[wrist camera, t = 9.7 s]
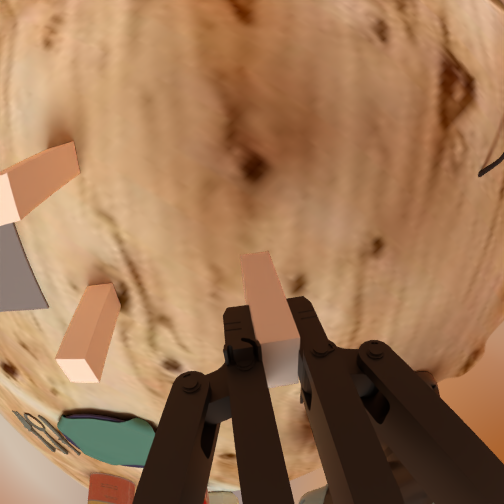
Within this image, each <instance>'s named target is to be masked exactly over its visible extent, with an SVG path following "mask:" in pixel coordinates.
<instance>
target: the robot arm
mask: <svg viewBox="0 0 504 504" xmlns="http://www.w3.org/2000/svg"><path fill="white" fill-rule="evenodd" d="M240 259H241V268H242V277H243V286H244V295H245V301H246V305H244V306H237V307H229V308H227V309H226V311H225V313H224V315H223V322H224V334H225V345H224V349H223V352H224V357H225V363H224V364H223V366H222V367H221V368H219V369H218V370H216V371H214V372H212V373H210V374H207V375H204V374H203V373H201V372H197V371H188V372H185V373H183V374H181V375H180V376H178V377H177V378H176V379H175V381H174V383H173V385H172V388H171V391H170V394H169V396H168V399H167V402H166V405H165V408H164V410H163V413H162V416H161V419H160V422H159V425H158V428H157V430H156V433H155V436H154V439H153V442H152V445H151V448H150V451H149V454H148V457H147V460H146V463H145V466H144V468H143V471H142V474H141V478H140V481H139V484H138V487H137V490H136V493H135V496H134V499H133V502H132V504H203V503H204V498H205V494H206V489H207V484H208V480H209V475H210V470H211V466H212V461H213V456H214V452H215V447H216V442H217V437H218V433H219V428H220V423H221V422H222V421H225V420H227V419H230V418H232V425H233V433H234V442H235V450H236V458H237V466H238V473H239V481H240V488H241V495H242V502H243V504H294V500H293V495H292V491H291V487H290V482H289V478H288V474H287V469H286V465H285V461H284V456H283V452H282V447H281V443H280V438H279V434H278V429H277V425H276V421H275V416H274V411H273V407H272V402H271V398H270V393H269V389H268V388H273V387H279V386H285V385H291V384H296V383H298V376H299V380H300V383H301V394H300V404H301V403H303V402H304V405H305V409H306V412H307V415H308V419H309V422H310V426H311V429H312V432H313V436H314V439H315V442H316V446H317V449H318V453H319V456H320V459H321V463H322V466H323V470H324V473H325V476H326V480H327V483H328V484H327V485H326V486H324V487H321V488H319V489H315V490H313V491H310V492H307V493H306V494H304V495H303V496H302V497H301V499H300V501H299V504H504V464H503V463H502V462H501V461H500V460H499V459H498V458H497V456H496V455H495V454H494V453H493V452H492V451H491V450H490V449H489V448H488V447H487V446H486V445H485V444H484V442H482V440H481V439H479V437H478V436H477V435H476V434H475V433H474V432H473V431H472V430H471V429H470V428H469V427H468V426H467V425H466V424H465V423H464V422H463V420H462V419H461V418H460V417H459V416H458V415H457V414H456V413H455V412H454V411H453V410H452V409H451V408H450V407H449V406H448V405H447V404H446V403H445V402H444V401H443V400H442V399H441V398H440V395H439V390H438V385H437V383H436V381H435V380H434V378H433V376H432V375H431V374H430V373H429V372H416V373H415V372H414V371H413V370H412V369H411V368H410V367H409V366H408V365H407V364H406V363H405V362H404V361H403V360H402V359H401V358H400V357H399V356H398V355H397V354H396V353H395V352H394V351H393V350H392V349H391V348H390V347H389V346H388V345H387V344H385V343H384V342H381V341H378V340H370V341H366V342H364V343H363V344H362V345H361V346H360V348H359V349H344V348H339V347H337V346H336V345H335V344H334V343H333V342H331V341H330V340H328V338H327V336H326V334H325V332H324V330H323V327H322V325H321V323H320V321H319V319H318V317H317V314H316V312H315V311H314V308H313V306H312V304H311V302H310V301H309V300H308V299H306V298H305V297H304V296H301V297H294V298H288V299H286V297H285V295H284V292H283V289H282V286H281V284H280V281H279V278H278V276H277V273H276V270H275V268H274V265H273V262H272V260H271V257H270V254H269V252H268V251H267V252H259V253H252V254H244V255H240Z"/></svg>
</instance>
